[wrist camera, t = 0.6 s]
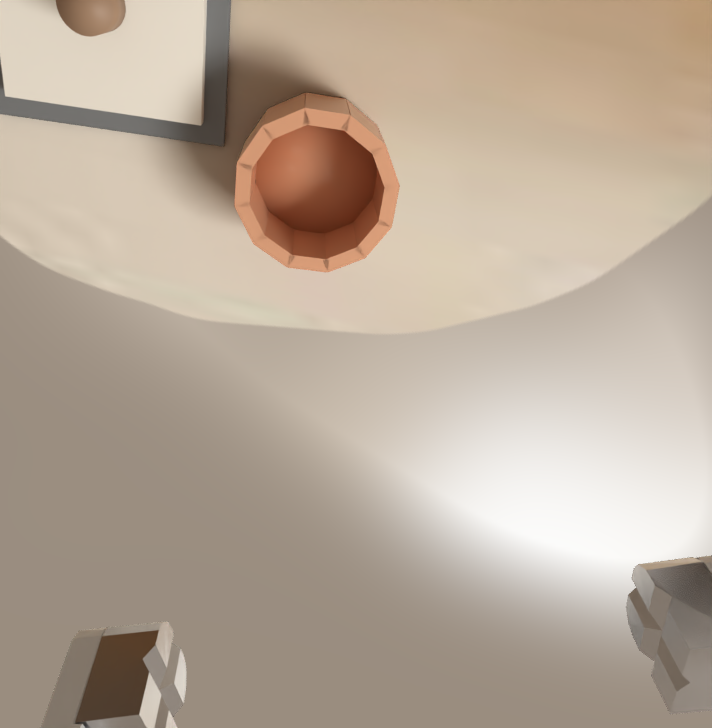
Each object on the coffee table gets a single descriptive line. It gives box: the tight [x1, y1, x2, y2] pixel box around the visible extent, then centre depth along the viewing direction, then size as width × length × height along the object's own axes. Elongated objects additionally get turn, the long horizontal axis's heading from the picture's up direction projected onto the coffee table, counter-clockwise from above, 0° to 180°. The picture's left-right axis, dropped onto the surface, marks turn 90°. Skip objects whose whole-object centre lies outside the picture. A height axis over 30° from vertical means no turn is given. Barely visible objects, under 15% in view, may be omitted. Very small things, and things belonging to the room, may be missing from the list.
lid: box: [0, 0, 207, 126], centre depth 39 cm, size 13×13×4 cm
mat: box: [0, 0, 231, 146], centre depth 41 cm, size 16×16×1 cm
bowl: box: [234, 93, 400, 272], centre depth 45 cm, size 11×11×6 cm
